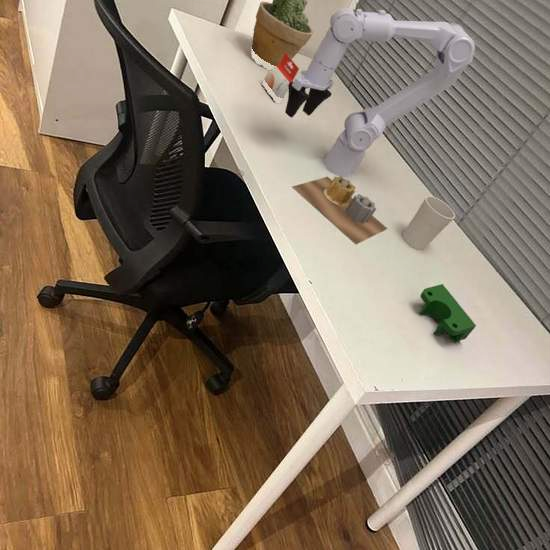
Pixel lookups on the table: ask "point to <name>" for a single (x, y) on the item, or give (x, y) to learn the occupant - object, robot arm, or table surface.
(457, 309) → the clamp
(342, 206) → the board
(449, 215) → the cup
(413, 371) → the table surface
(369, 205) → the grey gear
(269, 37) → the potted plant
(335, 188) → the brass gear
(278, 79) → the ink box
